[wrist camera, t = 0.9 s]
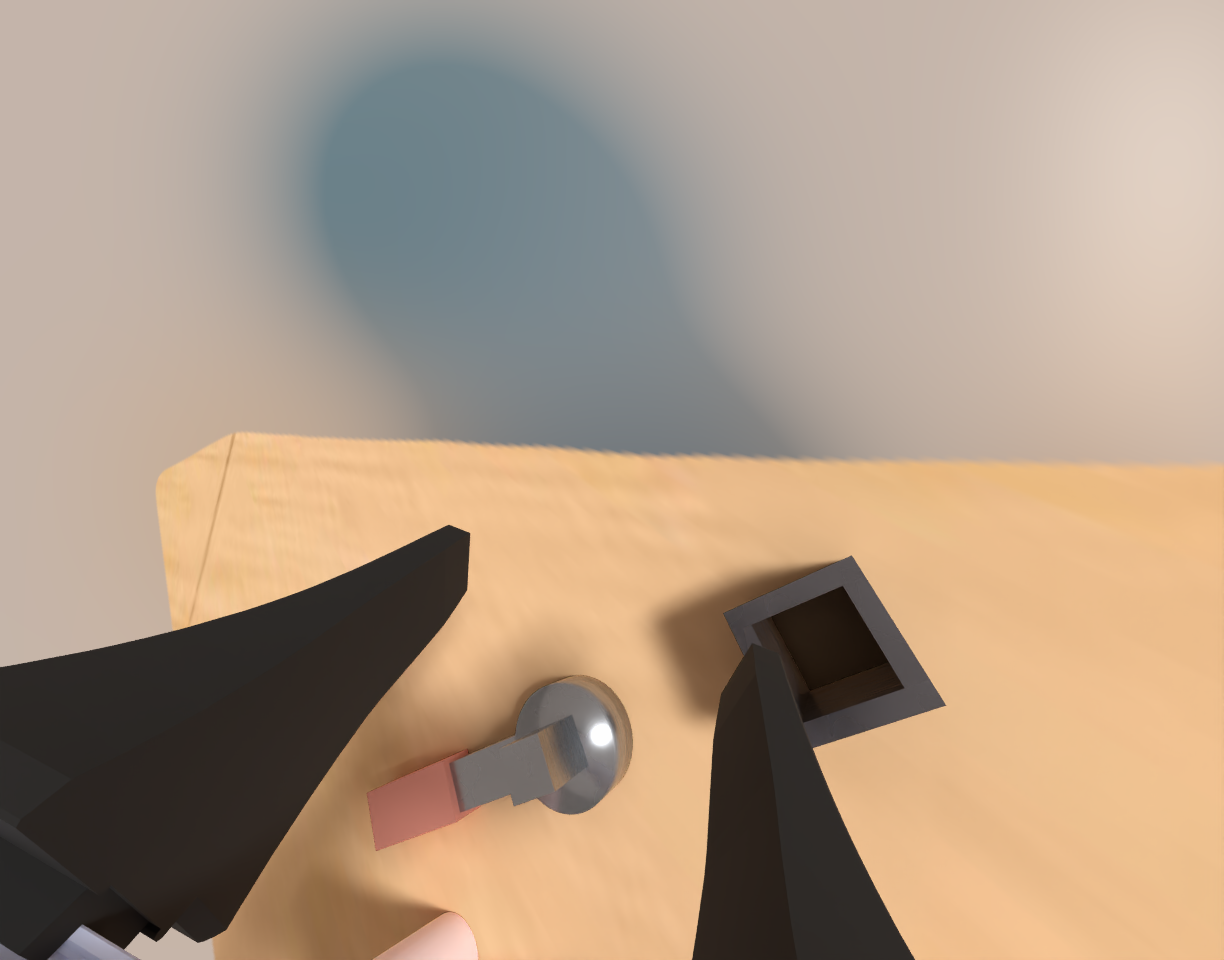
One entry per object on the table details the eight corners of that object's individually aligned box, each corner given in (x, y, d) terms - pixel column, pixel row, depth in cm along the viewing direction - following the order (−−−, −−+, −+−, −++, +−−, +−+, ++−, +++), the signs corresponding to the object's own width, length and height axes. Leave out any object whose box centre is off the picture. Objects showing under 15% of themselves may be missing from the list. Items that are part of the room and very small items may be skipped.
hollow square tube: (921, 674, 18) (945, 705, 14) (802, 715, 20) (791, 754, 16) (849, 559, 20) (851, 555, 16) (746, 605, 22) (723, 613, 18)
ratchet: (408, 859, 28) (326, 913, 24) (390, 757, 31) (311, 790, 26) (651, 776, 23) (603, 828, 18) (607, 659, 25) (555, 678, 20)
